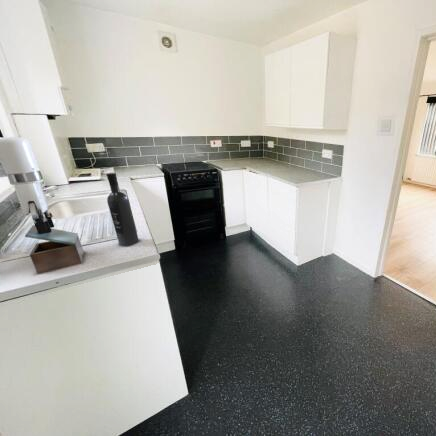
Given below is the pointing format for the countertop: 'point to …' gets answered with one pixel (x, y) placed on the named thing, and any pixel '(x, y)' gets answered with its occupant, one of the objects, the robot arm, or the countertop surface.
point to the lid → (53, 235)
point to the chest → (56, 255)
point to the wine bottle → (121, 214)
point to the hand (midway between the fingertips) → (46, 230)
